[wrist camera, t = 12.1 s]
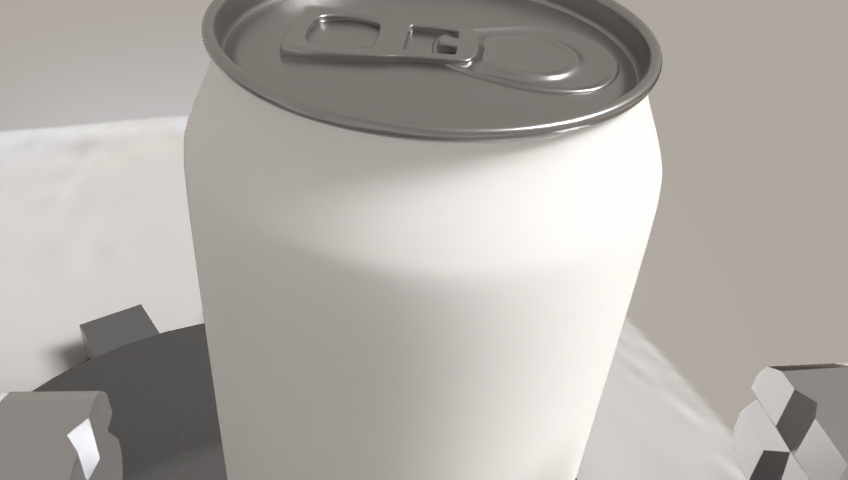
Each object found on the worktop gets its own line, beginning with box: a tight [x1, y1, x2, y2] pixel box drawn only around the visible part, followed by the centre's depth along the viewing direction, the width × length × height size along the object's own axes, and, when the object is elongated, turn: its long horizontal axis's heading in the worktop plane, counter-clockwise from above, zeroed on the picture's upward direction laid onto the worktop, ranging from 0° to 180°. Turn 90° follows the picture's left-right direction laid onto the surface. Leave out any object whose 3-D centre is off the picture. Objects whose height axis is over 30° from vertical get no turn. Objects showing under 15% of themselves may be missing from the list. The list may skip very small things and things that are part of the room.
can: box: [184, 0, 662, 480], centre depth 13 cm, size 6×6×12 cm
